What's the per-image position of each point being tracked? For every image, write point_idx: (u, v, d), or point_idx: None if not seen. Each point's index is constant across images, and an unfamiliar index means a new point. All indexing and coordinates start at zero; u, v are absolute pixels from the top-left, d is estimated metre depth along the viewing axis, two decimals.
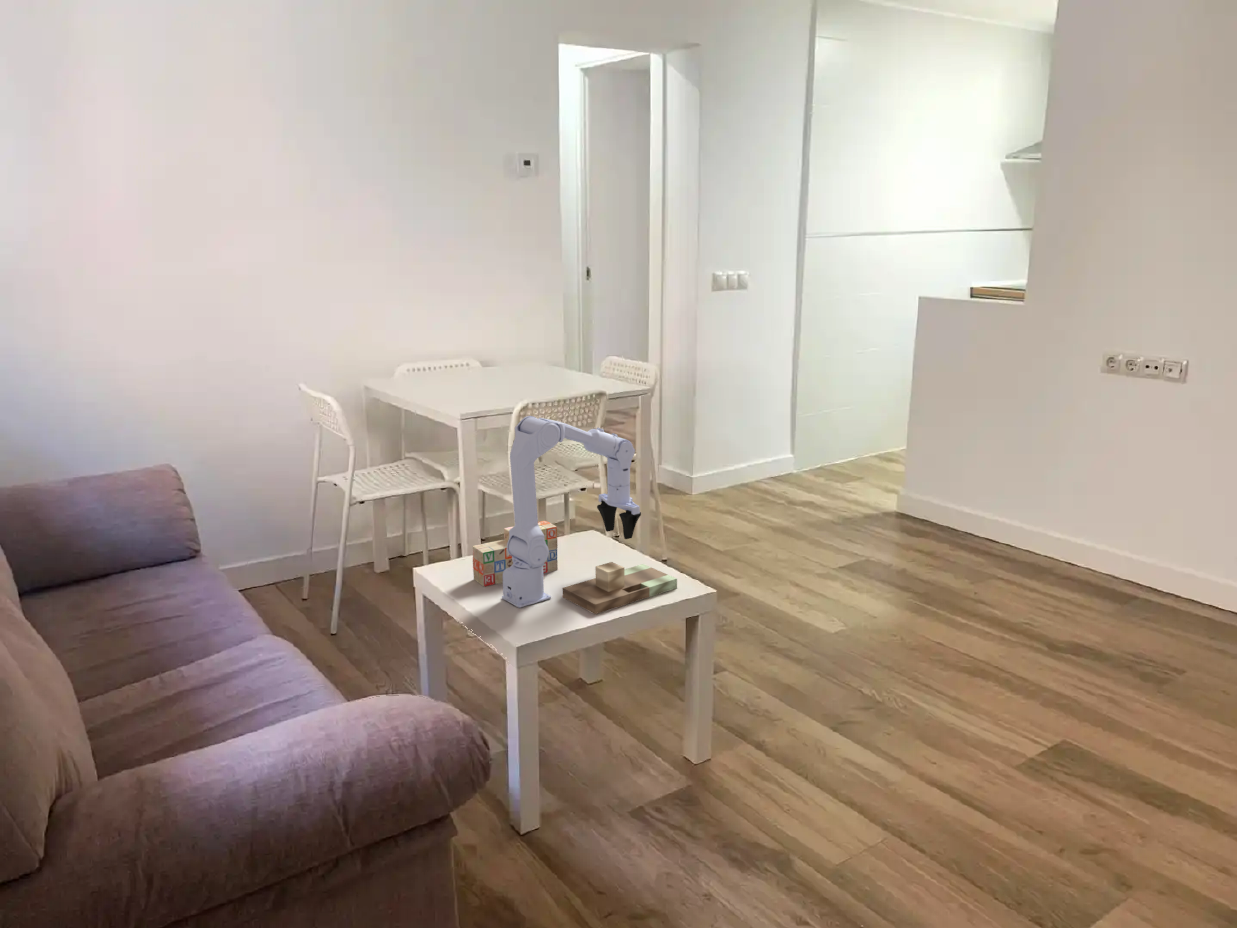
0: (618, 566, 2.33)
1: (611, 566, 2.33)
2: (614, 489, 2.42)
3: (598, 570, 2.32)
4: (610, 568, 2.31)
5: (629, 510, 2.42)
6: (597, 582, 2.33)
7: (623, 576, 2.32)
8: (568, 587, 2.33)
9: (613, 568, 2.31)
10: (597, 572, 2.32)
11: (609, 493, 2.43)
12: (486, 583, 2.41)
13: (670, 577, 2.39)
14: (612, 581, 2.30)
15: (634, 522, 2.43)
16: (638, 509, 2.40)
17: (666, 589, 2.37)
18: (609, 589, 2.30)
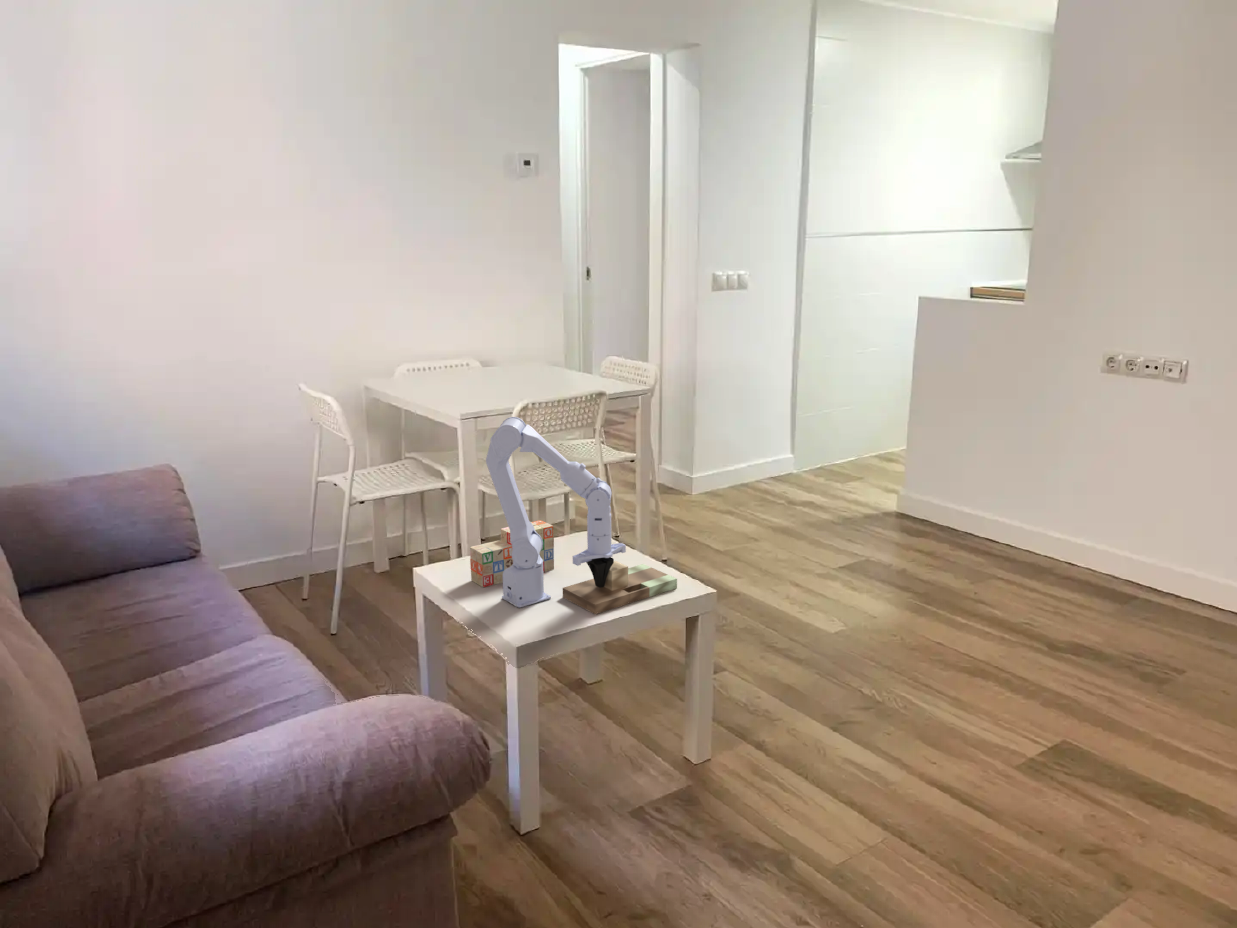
0: (622, 565, 2.33)
1: (615, 565, 2.33)
2: None
3: None
4: (614, 567, 2.32)
5: None
6: None
7: (627, 575, 2.33)
8: (568, 587, 2.33)
9: (617, 567, 2.32)
10: None
11: None
12: (485, 584, 2.40)
13: (670, 577, 2.39)
14: (615, 580, 2.31)
15: None
16: (576, 560, 2.25)
17: (666, 589, 2.37)
18: (613, 588, 2.31)
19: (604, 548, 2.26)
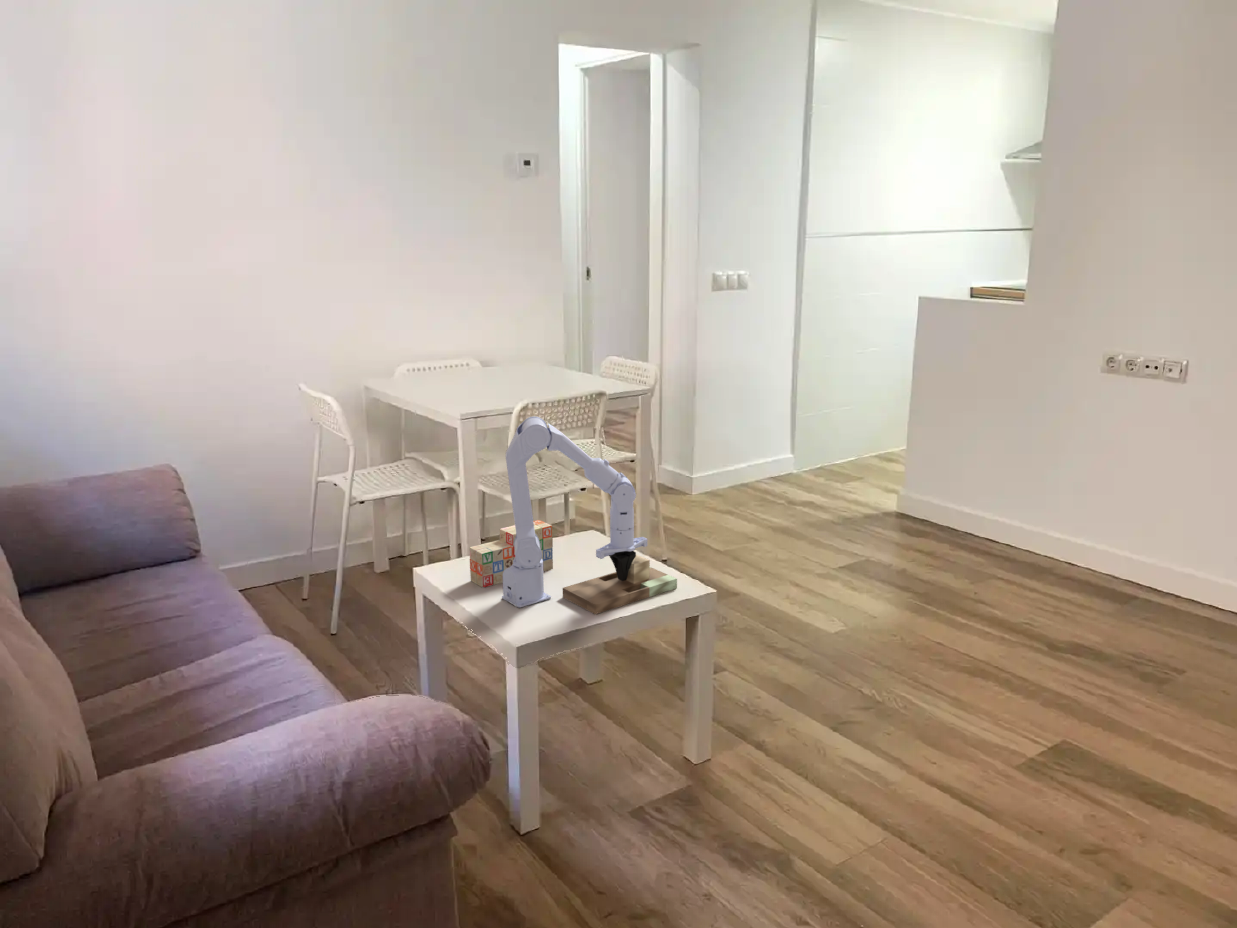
0: (643, 559, 2.37)
1: (636, 558, 2.38)
2: None
3: None
4: (636, 561, 2.36)
5: None
6: None
7: (648, 568, 2.37)
8: (568, 587, 2.33)
9: (639, 561, 2.36)
10: None
11: None
12: (485, 584, 2.40)
13: (670, 577, 2.39)
14: (637, 573, 2.35)
15: None
16: (599, 554, 2.29)
17: (666, 589, 2.37)
18: (635, 581, 2.35)
19: (627, 542, 2.31)
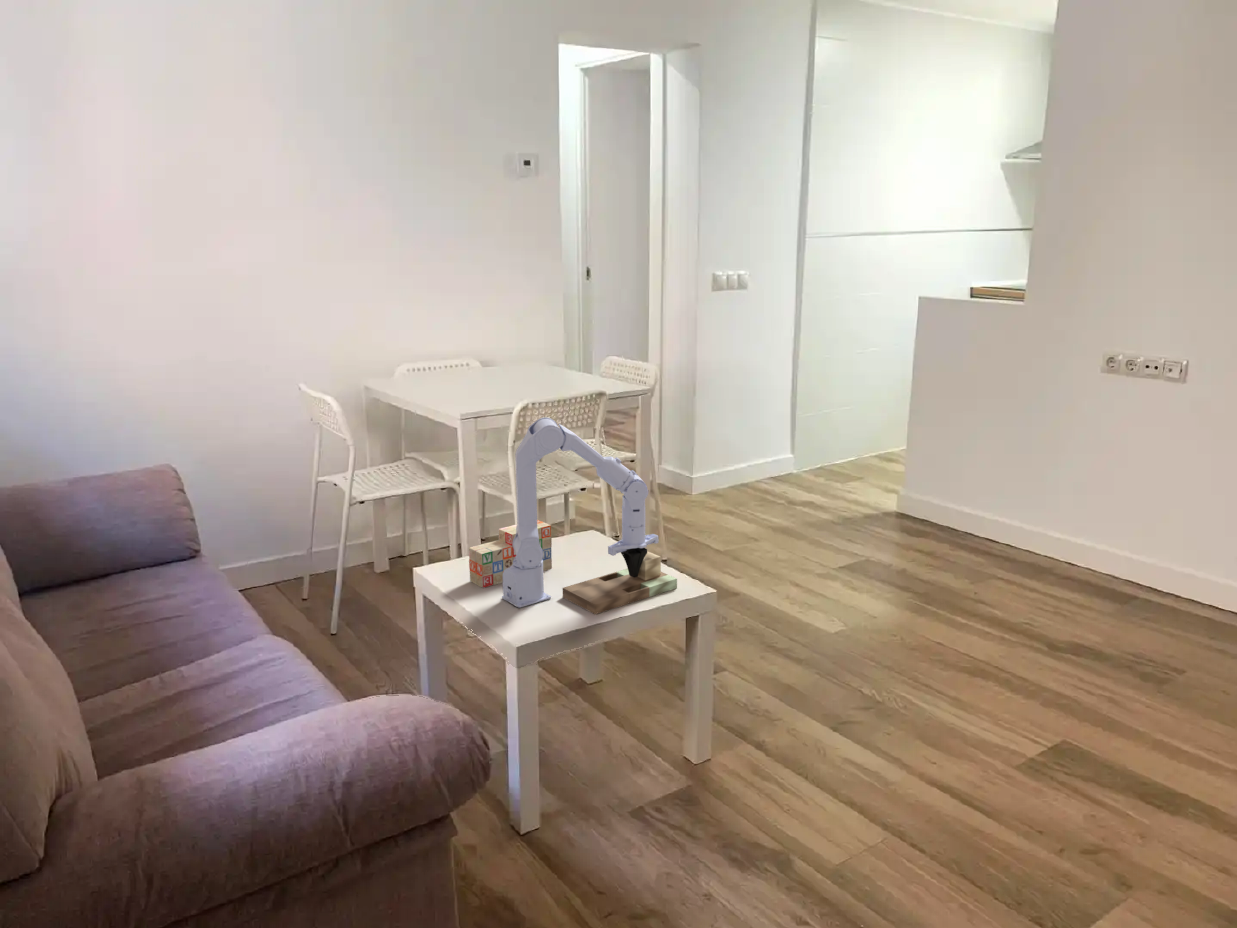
0: (654, 555, 2.40)
1: (648, 555, 2.40)
2: None
3: None
4: (647, 558, 2.38)
5: None
6: None
7: (659, 565, 2.39)
8: (568, 587, 2.33)
9: (650, 557, 2.38)
10: None
11: None
12: (485, 584, 2.40)
13: (670, 577, 2.39)
14: (649, 570, 2.37)
15: None
16: (611, 550, 2.31)
17: (666, 589, 2.37)
18: (646, 577, 2.37)
19: (639, 539, 2.33)
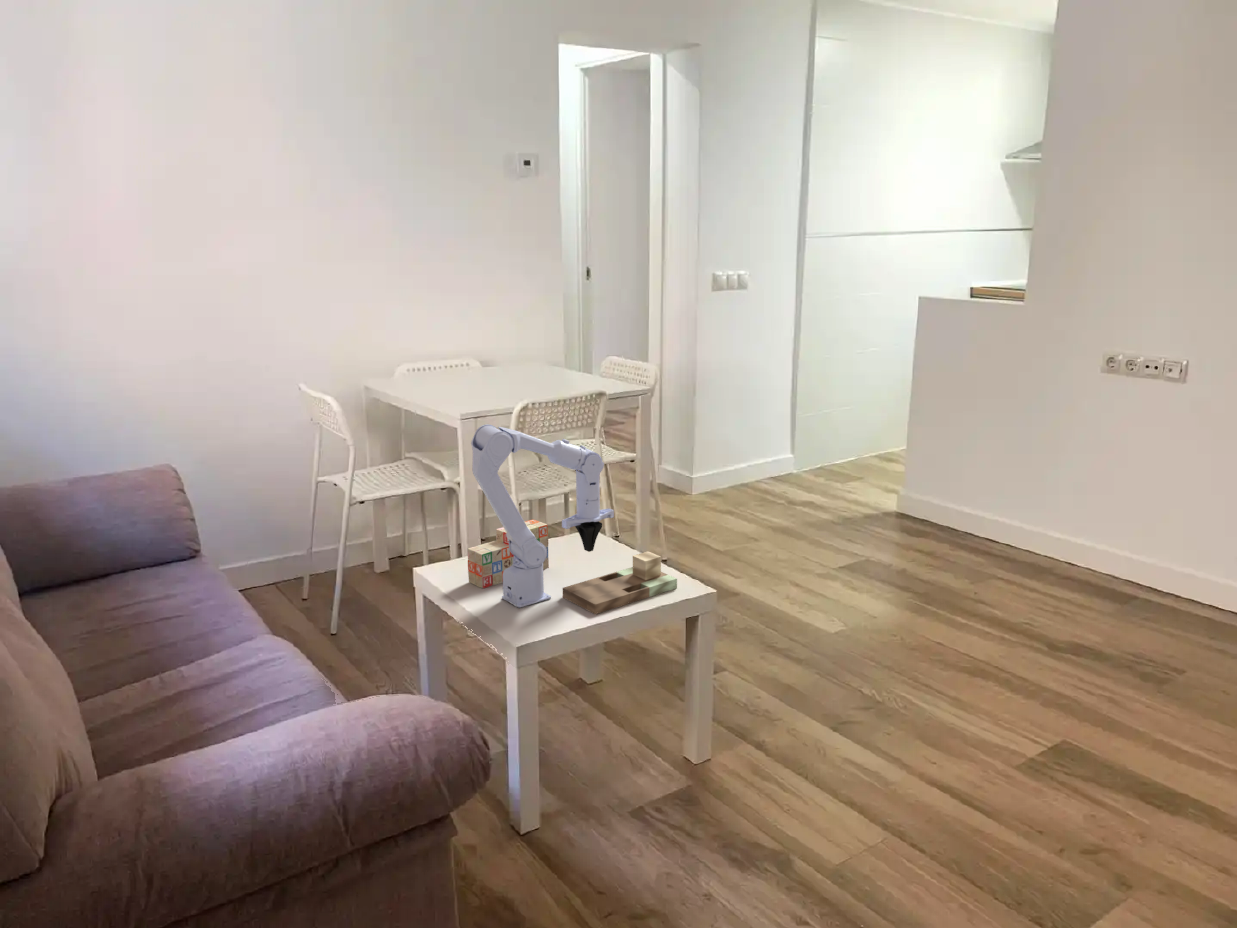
0: (655, 555, 2.40)
1: (648, 555, 2.40)
2: None
3: (635, 559, 2.39)
4: (648, 557, 2.38)
5: None
6: (635, 571, 2.40)
7: (659, 565, 2.39)
8: (568, 587, 2.33)
9: (650, 557, 2.38)
10: (634, 561, 2.39)
11: None
12: (484, 585, 2.39)
13: (670, 577, 2.39)
14: (649, 570, 2.37)
15: None
16: (565, 524, 2.31)
17: (666, 589, 2.37)
18: (646, 577, 2.37)
19: (593, 513, 2.33)
